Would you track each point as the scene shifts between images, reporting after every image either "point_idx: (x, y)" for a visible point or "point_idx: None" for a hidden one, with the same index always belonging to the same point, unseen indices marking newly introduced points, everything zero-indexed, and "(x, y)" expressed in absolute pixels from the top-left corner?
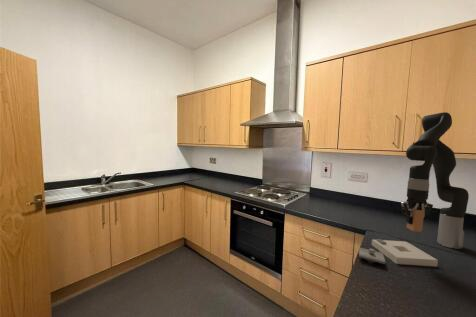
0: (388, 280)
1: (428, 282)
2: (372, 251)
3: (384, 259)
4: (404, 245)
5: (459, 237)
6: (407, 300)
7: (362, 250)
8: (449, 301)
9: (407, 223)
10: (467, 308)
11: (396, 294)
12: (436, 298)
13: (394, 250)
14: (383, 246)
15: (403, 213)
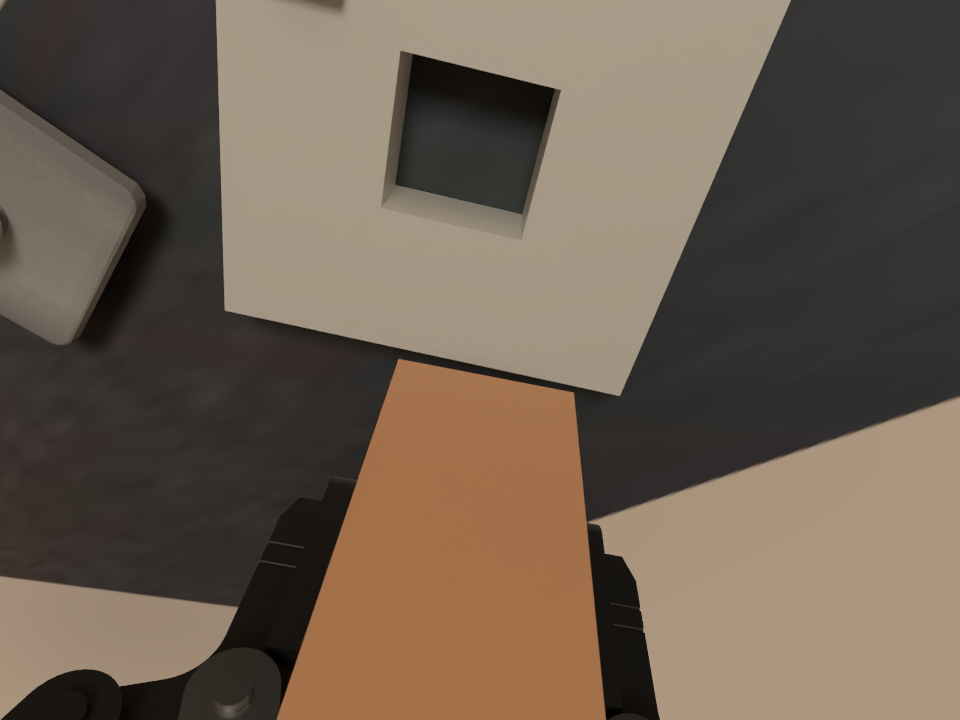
0: (43, 428)
1: (308, 475)
2: None
3: (80, 313)
4: (617, 60)
5: None
6: (58, 541)
7: None
8: None
9: (373, 439)
10: None
11: (25, 510)
12: (226, 553)
13: (319, 181)
14: (245, 61)
15: (58, 693)
